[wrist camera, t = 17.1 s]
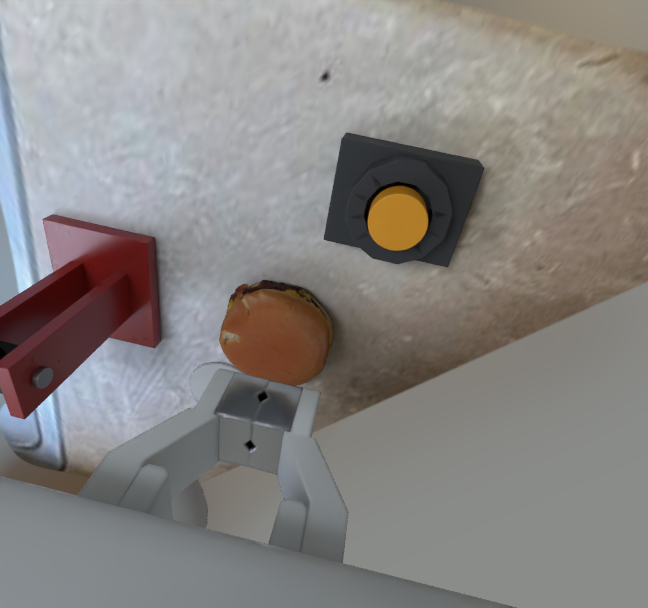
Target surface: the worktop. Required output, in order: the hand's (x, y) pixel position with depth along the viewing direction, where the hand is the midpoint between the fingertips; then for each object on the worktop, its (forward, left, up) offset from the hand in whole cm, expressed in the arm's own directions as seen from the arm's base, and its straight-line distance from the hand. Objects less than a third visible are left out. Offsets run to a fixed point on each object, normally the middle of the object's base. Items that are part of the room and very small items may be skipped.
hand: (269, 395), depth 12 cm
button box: (0, +4, -21) cm, 21 cm away
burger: (+13, -3, -21) cm, 25 cm away
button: (0, +4, -17) cm, 18 cm away
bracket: (+13, -19, -21) cm, 31 cm away
